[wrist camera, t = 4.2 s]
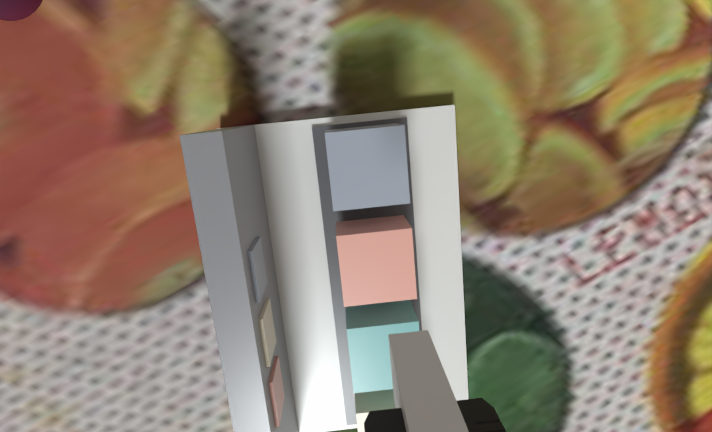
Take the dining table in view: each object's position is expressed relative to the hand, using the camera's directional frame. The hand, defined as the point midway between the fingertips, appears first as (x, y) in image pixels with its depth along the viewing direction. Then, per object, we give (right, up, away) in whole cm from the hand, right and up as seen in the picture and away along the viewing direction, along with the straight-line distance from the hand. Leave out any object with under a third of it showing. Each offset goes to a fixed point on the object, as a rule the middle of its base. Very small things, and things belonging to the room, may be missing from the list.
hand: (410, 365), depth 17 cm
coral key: (-1, +3, +14) cm, 14 cm away
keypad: (-2, +1, +17) cm, 17 cm away
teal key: (0, -3, +15) cm, 15 cm away
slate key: (-2, +9, +12) cm, 15 cm away
